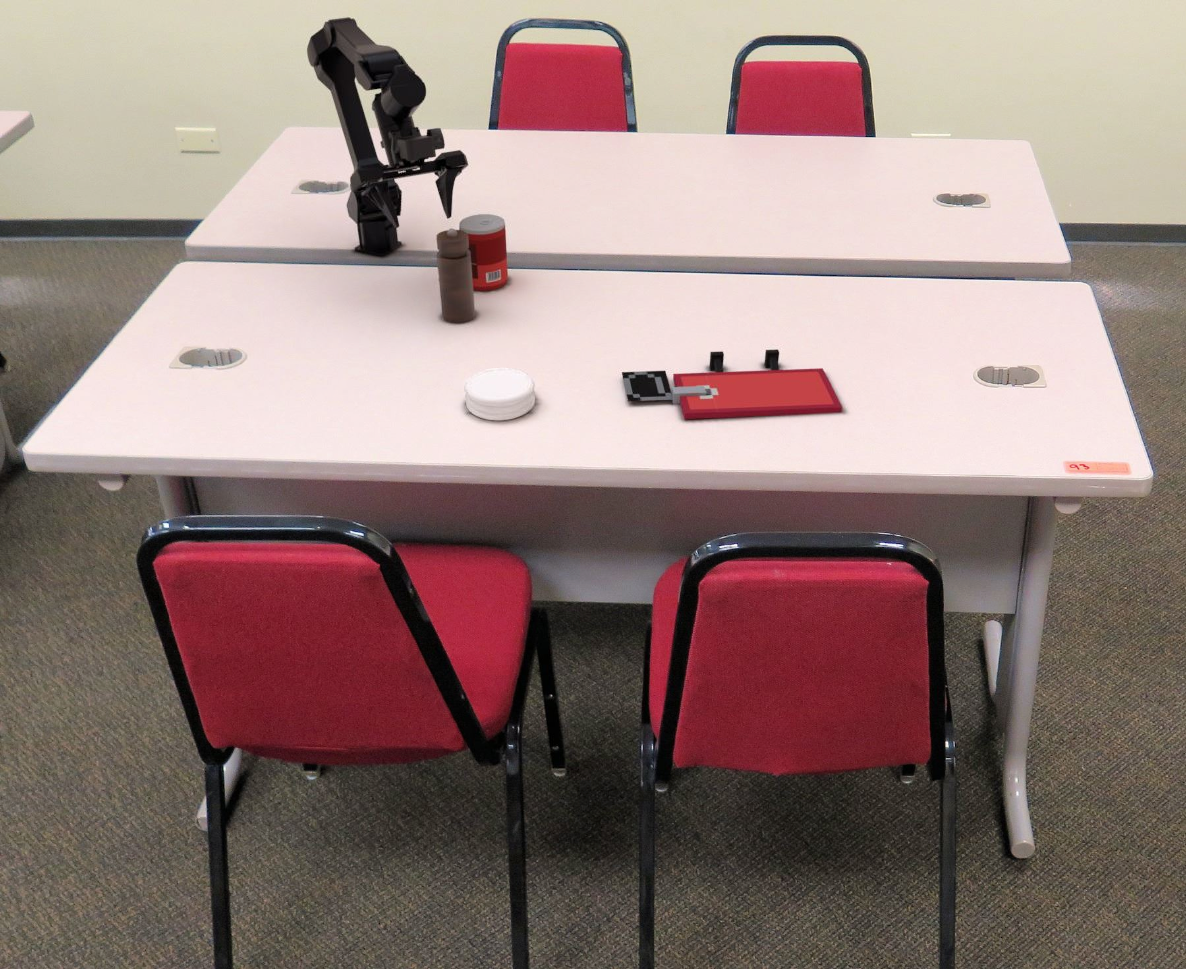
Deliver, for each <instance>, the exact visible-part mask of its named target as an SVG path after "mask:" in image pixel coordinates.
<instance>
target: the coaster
mask: <svg viewBox="0 0 1186 969" xmlns="http://www.w3.org/2000/svg"><path fill="white" fill-rule="evenodd" d="M464 392H465V393H464V398H465V406H466V408H467V410H468V411H469V412H470V413H471V414H473V415H474V416H476V417H478V418H480V419H483V420H488V421H507V420H513V419H516V418H519V417H522V416H524V415H525V414H527V413H529V412H530V411H531V410H532V409H533V408H534V405H535V403H536V396H535V395H536V391H535V381H534V379H533V378H532V376H530V375H529V374H528V373H526V372H524V371H521V370H519V369H516V368H510V367H494V368H493V367H492V368H488V369H483V370H480V371H478V372H476V373H474V374H473V375H472V376H470V377H469V378H468V379H467V380H466V382H465V384H464Z"/></svg>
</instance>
